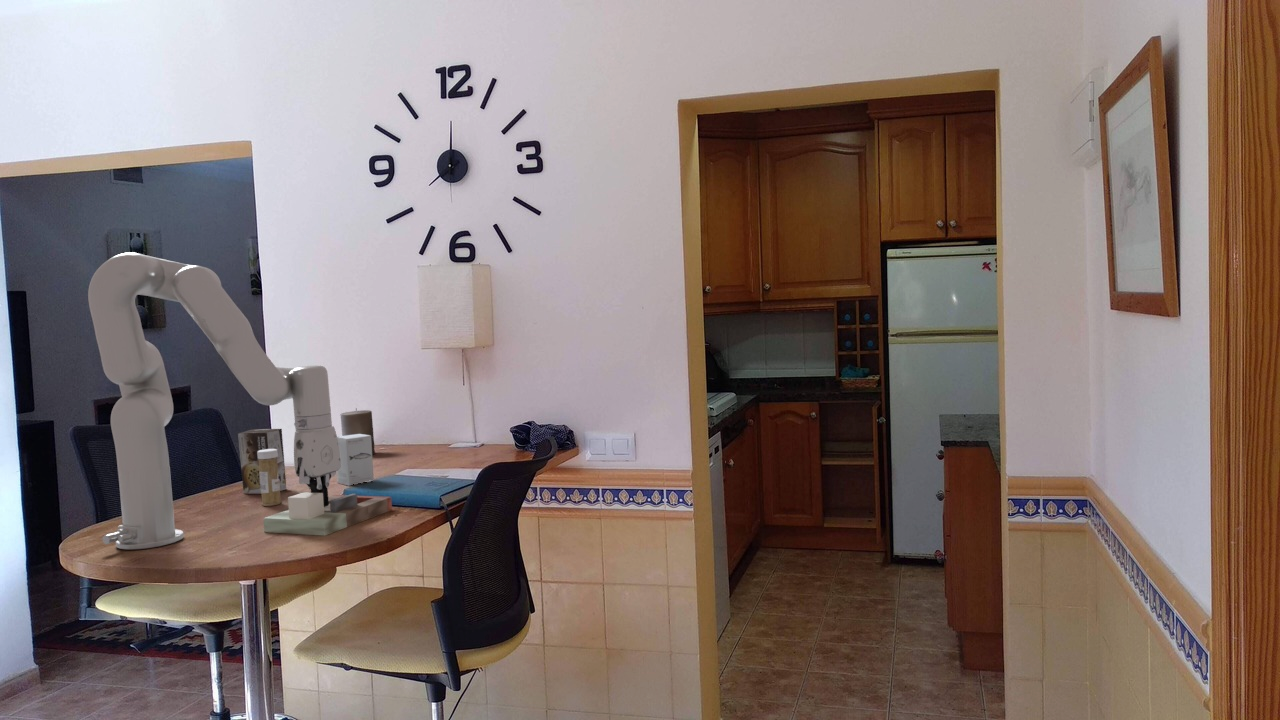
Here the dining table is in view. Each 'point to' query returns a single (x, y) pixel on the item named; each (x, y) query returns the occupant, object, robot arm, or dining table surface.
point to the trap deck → (330, 515)
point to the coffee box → (249, 459)
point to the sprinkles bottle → (269, 477)
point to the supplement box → (355, 459)
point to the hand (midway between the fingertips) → (320, 506)
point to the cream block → (306, 505)
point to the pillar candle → (358, 424)
